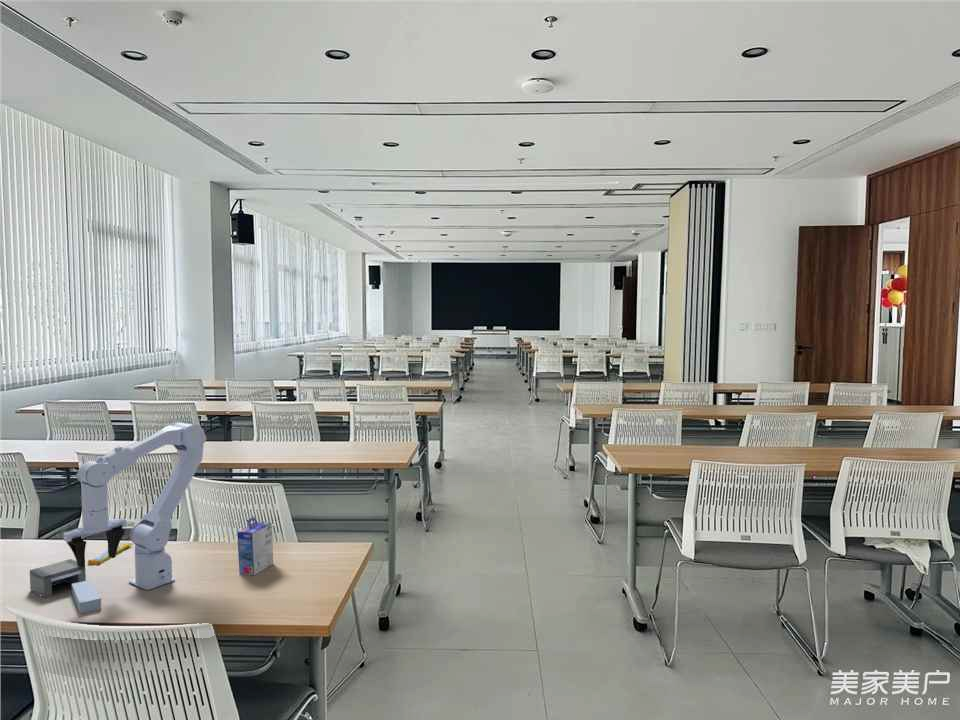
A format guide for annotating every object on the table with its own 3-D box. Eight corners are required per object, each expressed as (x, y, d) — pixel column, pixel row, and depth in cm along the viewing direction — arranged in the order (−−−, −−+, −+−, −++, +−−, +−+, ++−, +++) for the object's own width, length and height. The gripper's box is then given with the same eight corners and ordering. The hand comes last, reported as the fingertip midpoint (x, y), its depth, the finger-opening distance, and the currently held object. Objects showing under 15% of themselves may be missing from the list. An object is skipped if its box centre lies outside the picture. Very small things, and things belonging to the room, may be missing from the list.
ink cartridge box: (257, 562, 192) (256, 513, 191) (274, 563, 191) (273, 514, 190) (237, 574, 182) (236, 523, 182) (254, 576, 181) (253, 524, 180)
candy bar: (99, 567, 189) (98, 560, 189) (85, 566, 189) (85, 560, 189) (133, 547, 206) (133, 541, 206) (120, 547, 206) (120, 541, 206)
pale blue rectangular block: (101, 610, 160) (100, 598, 160) (79, 615, 157) (79, 603, 157) (91, 590, 172) (91, 579, 172) (71, 595, 169) (71, 583, 169)
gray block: (86, 585, 174) (86, 565, 174) (45, 598, 166) (44, 577, 166) (71, 578, 179) (70, 559, 179) (30, 590, 171) (29, 570, 170)
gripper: (115, 500, 174) (116, 550, 174) (56, 513, 161) (58, 567, 162) (130, 504, 170) (131, 555, 171) (70, 518, 158) (72, 573, 158)
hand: (96, 561), depth 166 cm, fingers open, 7 cm apart
